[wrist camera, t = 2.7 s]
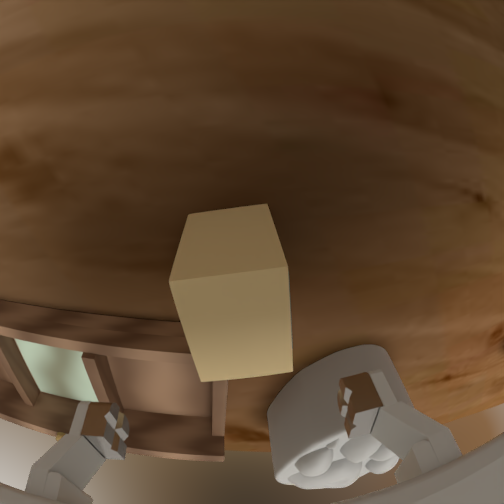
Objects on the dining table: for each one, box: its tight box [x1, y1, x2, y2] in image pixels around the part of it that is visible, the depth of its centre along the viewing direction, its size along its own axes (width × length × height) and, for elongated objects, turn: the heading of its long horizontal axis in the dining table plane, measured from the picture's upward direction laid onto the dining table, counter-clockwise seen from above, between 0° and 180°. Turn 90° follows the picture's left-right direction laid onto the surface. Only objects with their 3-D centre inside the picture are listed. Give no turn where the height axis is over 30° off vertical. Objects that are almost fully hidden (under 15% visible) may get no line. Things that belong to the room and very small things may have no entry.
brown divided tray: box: [0, 300, 228, 462], centre depth 20 cm, size 28×11×6 cm, turn 84°
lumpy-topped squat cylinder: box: [267, 345, 414, 489], centre depth 23 cm, size 10×13×9 cm
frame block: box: [169, 204, 293, 382], centre depth 16 cm, size 5×6×7 cm
